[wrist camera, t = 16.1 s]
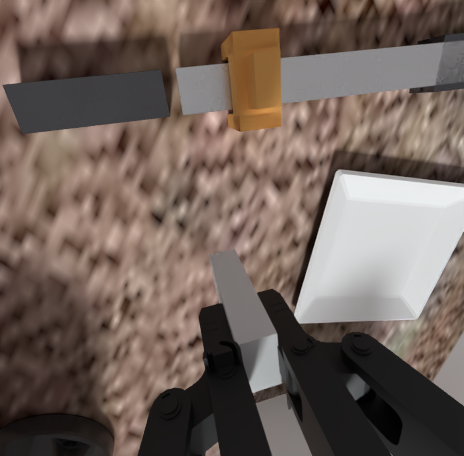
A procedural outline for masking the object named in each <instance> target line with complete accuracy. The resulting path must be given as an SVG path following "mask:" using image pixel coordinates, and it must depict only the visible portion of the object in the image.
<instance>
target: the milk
mask: <svg viewBox="0 0 464 456" xmlns="http://www.w3.org/2000/svg"><path fill="white" fill-rule="evenodd" d="M256 406H257V409H258V412H259V415H260V418H261V422H262V425H263V428H264V431H265V434H266V438H267V441H268V444H269V447H270V450H271V453H272V456H312V454H311V452H310V449H309V447H308V445H307V442H306V440H305V438H304V435H303V433H302V430H301V428H300V426H299V423H298V421H297V419H296V416H295V414H294V412H293V409H292V407H291V409H290V410H288V405H287V396H286V394H283V395H280V396H276V397H273V398H270V399H267V400H264V401H261V402H258V403H256Z"/></svg>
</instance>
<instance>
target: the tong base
mask: <svg viewBox="0 0 464 456" xmlns="http://www.w3.org/2000/svg"><path fill="white" fill-rule="evenodd" d="M431 43H432V39H426V40H422V41H418V43H417V45H422V44H431ZM3 88H4V90H5V92H6V95H7V97H8V100H9V102H10V104H11V107H12V109H13V112H14V114H15V116H16V119H17V121H18V124H19V126H20V128H21V131H22V133H23V134H28V133H36V132H45V131H53V130H62V129H70V128H78V127H87V126H95V125H104V124H112V123H121V122H129V121H138V120H146V119H154V118H163V117H170V113H169V108H168V102H167V97H166V91H165V86H164V81H163V75H162V71H161V70H153V71H143V72H132V73H122V74H111V75H101V76H90V77H80V78H69V79H59V80H48V81H38V82H27V83H17V84H6V85H3ZM422 91H423V87H417V88H410V92H409V93H421V92H422Z"/></svg>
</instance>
